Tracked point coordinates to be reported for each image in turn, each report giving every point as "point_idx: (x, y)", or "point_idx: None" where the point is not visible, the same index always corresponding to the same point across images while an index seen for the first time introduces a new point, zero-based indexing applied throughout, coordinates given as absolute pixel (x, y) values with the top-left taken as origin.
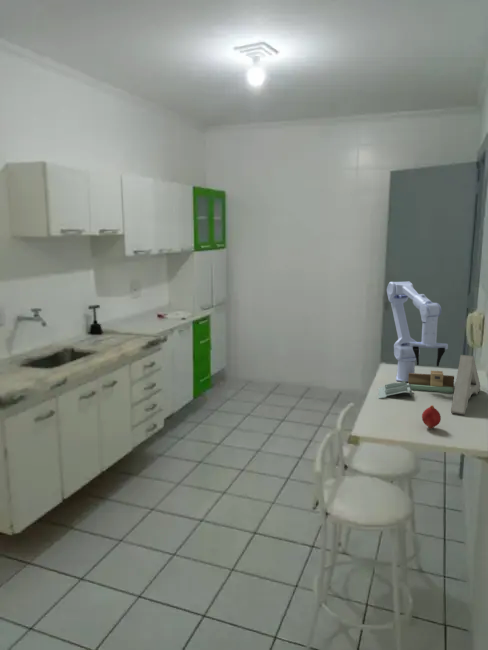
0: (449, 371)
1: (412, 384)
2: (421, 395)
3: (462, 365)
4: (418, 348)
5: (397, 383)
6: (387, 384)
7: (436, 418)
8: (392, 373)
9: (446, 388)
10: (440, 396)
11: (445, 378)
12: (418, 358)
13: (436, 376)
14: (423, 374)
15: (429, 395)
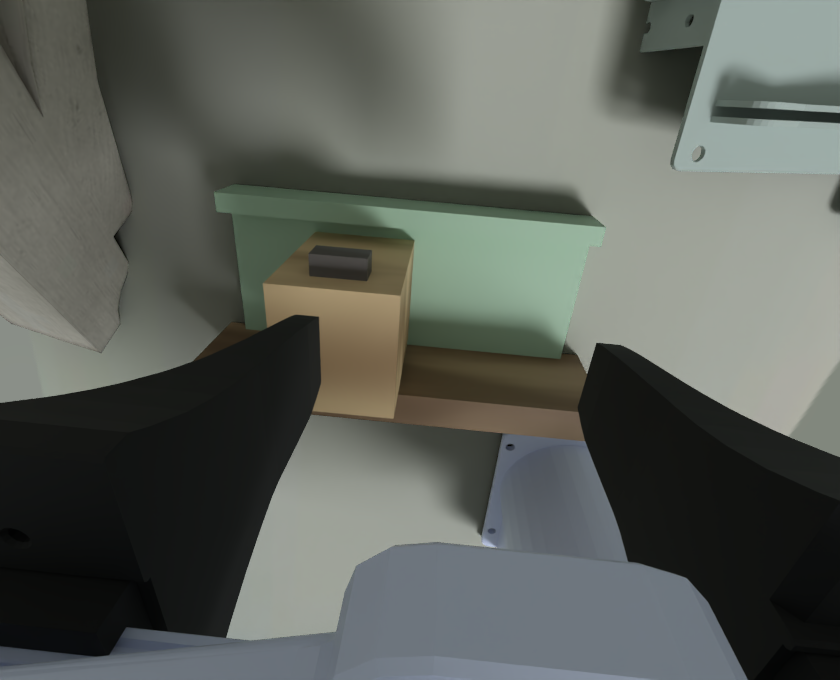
0: (261, 636)
1: (549, 345)
2: (537, 21)
3: None
4: (810, 637)
5: (837, 107)
6: None
7: None
8: None
9: (275, 195)
10: (347, 25)
11: None
12: (662, 391)
13: (348, 265)
14: (463, 408)
15: (453, 42)
